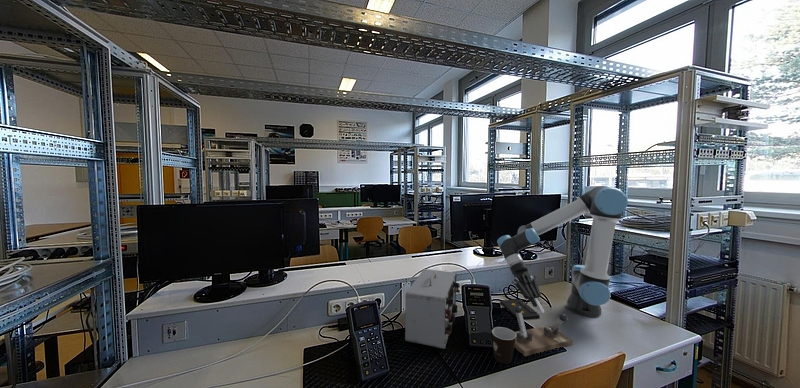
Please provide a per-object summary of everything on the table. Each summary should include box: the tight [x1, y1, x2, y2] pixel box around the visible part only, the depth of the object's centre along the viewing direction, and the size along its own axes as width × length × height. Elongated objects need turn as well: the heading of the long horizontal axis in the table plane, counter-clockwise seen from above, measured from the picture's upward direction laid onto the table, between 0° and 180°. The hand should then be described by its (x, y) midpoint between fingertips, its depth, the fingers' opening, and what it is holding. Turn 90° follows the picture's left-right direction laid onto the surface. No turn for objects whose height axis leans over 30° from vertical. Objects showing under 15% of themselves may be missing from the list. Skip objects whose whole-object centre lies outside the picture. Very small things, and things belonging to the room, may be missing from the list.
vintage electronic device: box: [404, 268, 461, 350], centre depth 128 cm, size 32×18×25 cm, turn 161°
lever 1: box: [514, 306, 528, 339], centre depth 118 cm, size 3×3×12 cm
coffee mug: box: [490, 326, 516, 365], centre depth 110 cm, size 12×9×10 cm
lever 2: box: [549, 313, 568, 333], centre depth 118 cm, size 3×3×12 cm
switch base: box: [513, 324, 573, 357], centre depth 119 cm, size 24×12×5 cm, turn 108°
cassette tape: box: [499, 298, 541, 321], centre depth 146 cm, size 18×12×2 cm, turn 8°
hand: (541, 313), depth 126 cm, fingers closed
